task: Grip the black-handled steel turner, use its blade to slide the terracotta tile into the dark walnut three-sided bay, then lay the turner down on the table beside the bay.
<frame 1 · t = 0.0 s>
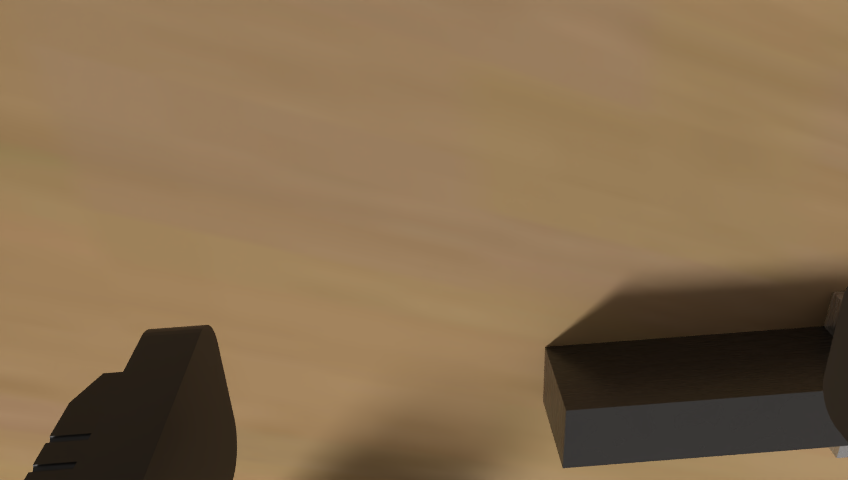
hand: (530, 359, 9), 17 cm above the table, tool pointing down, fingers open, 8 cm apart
turner: (680, 363, 32), on the table
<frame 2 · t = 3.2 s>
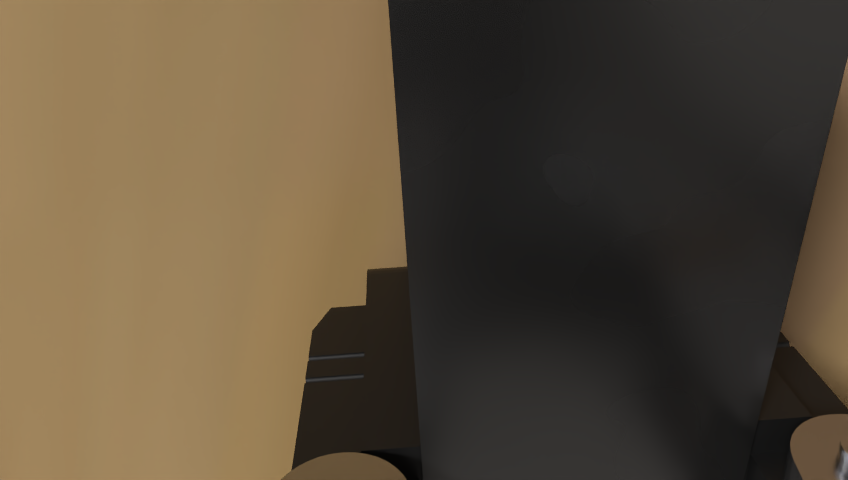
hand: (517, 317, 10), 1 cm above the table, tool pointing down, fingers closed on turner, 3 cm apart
turner: (515, 297, 11), on the table, touching gripper
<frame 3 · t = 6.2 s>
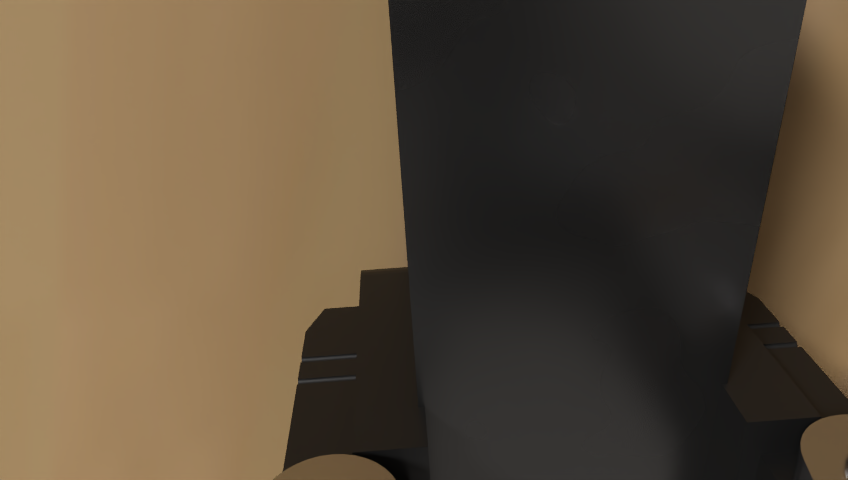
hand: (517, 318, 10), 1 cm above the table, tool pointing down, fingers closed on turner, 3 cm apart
turner: (508, 253, 11), on the table, touching gripper
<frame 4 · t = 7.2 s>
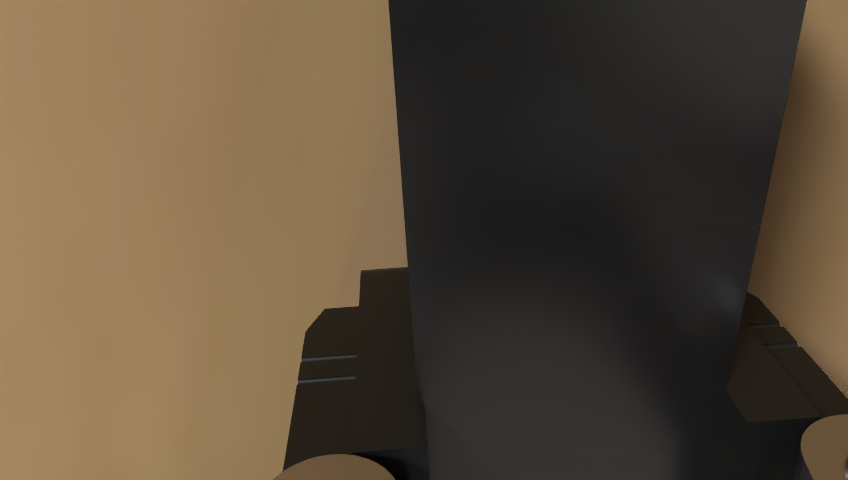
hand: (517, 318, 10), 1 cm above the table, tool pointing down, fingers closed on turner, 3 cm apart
turner: (508, 254, 11), on the table, touching gripper, tile
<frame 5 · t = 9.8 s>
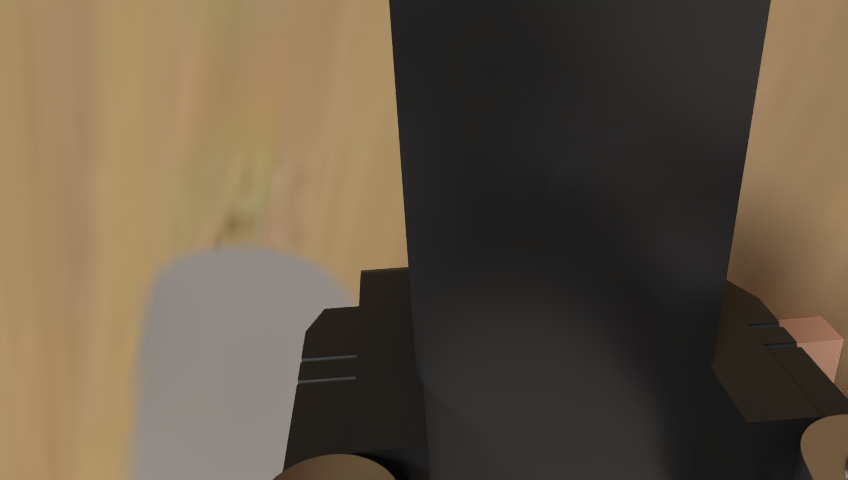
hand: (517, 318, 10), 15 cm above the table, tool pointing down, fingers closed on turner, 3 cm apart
tile: (734, 375, 31), on the table
turner: (505, 255, 11), point 14 cm above the table, touching gripper
when the fingers open (2 cm above the table, at t = 12.1 s): turner stays where it is, on the table.
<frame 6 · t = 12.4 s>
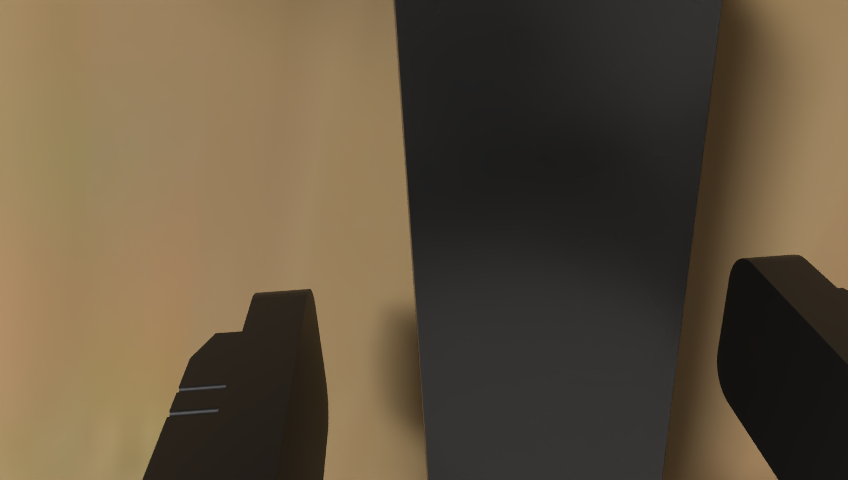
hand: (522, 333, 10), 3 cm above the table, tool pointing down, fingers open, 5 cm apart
turner: (500, 226, 12), on the table
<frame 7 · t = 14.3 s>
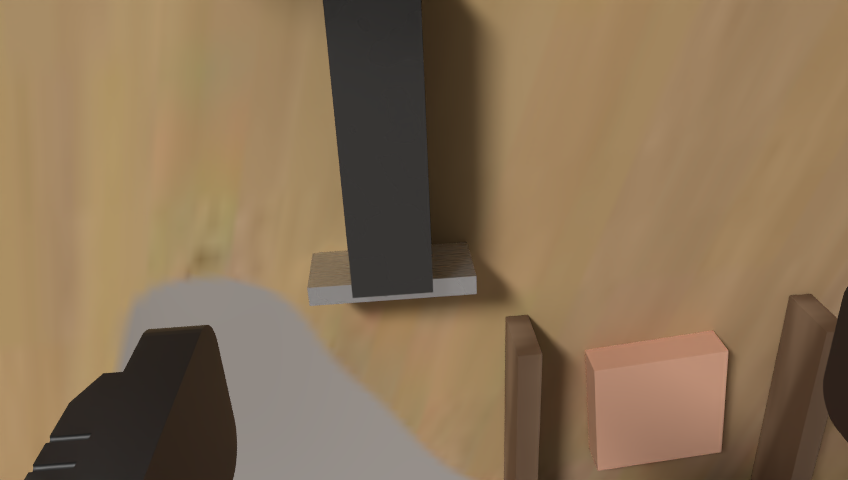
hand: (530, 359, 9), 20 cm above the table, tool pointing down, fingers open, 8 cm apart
tile: (645, 386, 35), on the table
bay: (647, 410, 36), on the table
turner: (380, 107, 28), on the table
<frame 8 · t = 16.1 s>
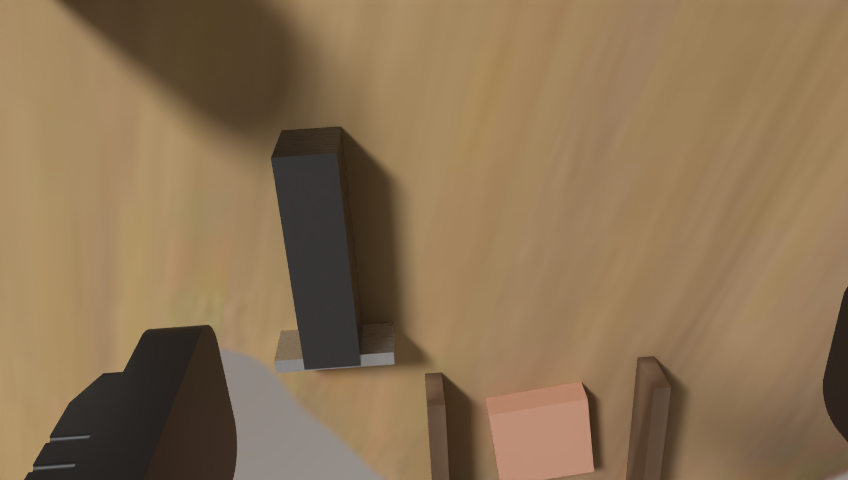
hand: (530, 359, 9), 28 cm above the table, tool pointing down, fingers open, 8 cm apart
tile: (536, 422, 47), on the table
bay: (538, 440, 47), on the table
turner: (325, 233, 40), on the table
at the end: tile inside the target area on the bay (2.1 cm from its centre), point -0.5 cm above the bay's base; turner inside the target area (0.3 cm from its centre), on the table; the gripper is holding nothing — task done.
